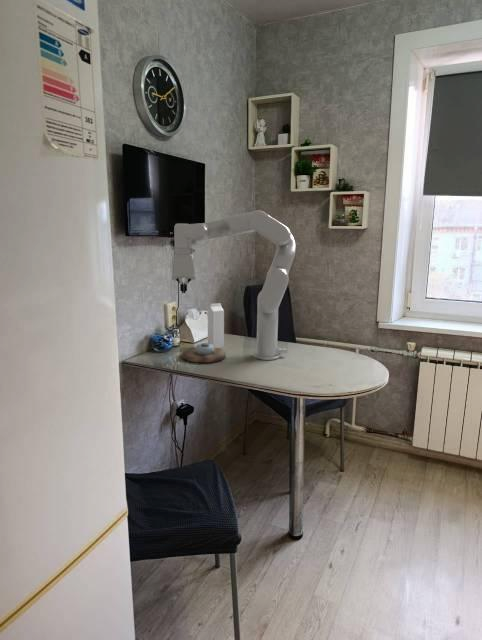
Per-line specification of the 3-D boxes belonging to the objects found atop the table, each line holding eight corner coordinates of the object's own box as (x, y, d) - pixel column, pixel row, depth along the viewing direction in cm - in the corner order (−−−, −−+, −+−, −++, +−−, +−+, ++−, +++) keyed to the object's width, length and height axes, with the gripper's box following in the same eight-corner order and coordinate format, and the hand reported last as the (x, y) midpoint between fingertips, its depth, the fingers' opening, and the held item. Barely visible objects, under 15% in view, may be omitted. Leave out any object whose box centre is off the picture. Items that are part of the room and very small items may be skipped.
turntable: (224, 349, 209) (224, 346, 209) (227, 362, 190) (227, 358, 190) (182, 350, 208) (182, 347, 207) (181, 362, 188) (180, 359, 188)
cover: (213, 350, 203) (213, 341, 202) (214, 354, 195) (214, 346, 194) (196, 350, 202) (196, 342, 201) (196, 355, 194) (196, 346, 194)
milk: (207, 346, 217) (207, 303, 212) (218, 344, 220) (218, 302, 215) (213, 349, 212) (213, 304, 207) (224, 347, 215) (224, 303, 210)
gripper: (200, 251, 197) (200, 291, 201) (166, 251, 196) (167, 291, 200) (200, 252, 190) (200, 294, 194) (165, 252, 188) (166, 294, 192)
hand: (183, 292), depth 197 cm, fingers closed
